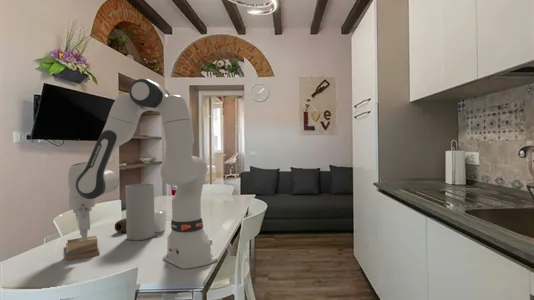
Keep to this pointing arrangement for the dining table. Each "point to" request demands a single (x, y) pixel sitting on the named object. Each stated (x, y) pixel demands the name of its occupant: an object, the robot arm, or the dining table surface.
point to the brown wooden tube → (121, 226)
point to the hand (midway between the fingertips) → (83, 237)
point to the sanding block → (82, 245)
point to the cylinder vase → (140, 211)
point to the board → (80, 254)
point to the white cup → (160, 220)
